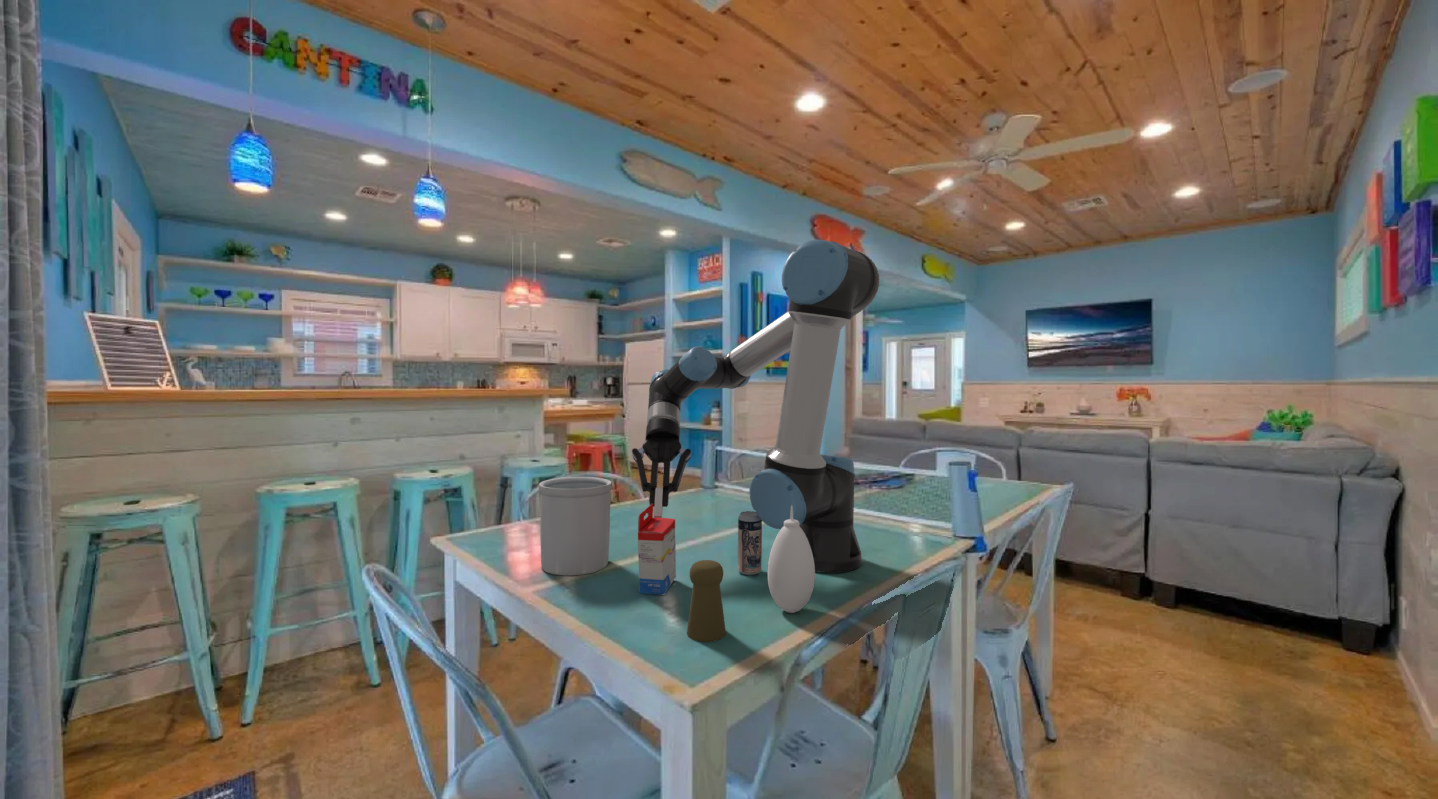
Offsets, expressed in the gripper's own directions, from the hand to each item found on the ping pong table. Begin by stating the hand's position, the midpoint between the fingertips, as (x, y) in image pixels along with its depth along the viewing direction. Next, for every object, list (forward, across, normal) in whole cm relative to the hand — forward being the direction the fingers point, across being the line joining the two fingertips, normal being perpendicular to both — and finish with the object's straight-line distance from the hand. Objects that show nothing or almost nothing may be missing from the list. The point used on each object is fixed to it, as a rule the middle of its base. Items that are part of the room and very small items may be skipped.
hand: (657, 519), depth 109 cm
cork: (+25, -9, +9) cm, 29 cm away
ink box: (+12, 0, -5) cm, 12 cm away
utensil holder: (+3, +18, -14) cm, 23 cm away
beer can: (+7, -18, -10) cm, 22 cm away
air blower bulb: (+20, -24, +4) cm, 31 cm away
